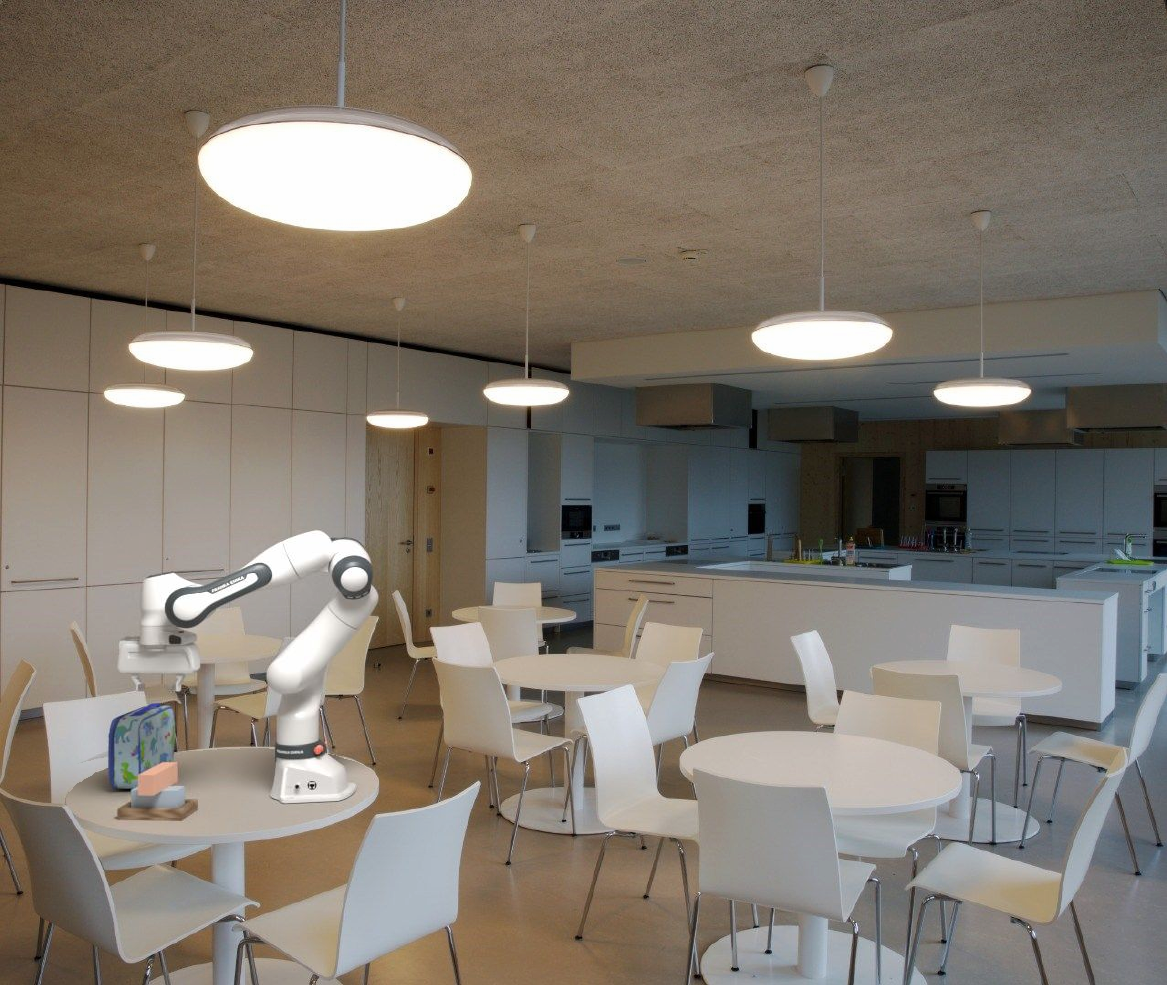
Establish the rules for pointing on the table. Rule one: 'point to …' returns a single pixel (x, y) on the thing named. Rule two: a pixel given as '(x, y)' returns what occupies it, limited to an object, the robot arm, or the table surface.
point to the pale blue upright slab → (160, 798)
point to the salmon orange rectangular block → (157, 778)
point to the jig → (157, 812)
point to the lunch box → (139, 743)
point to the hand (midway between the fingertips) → (158, 691)
